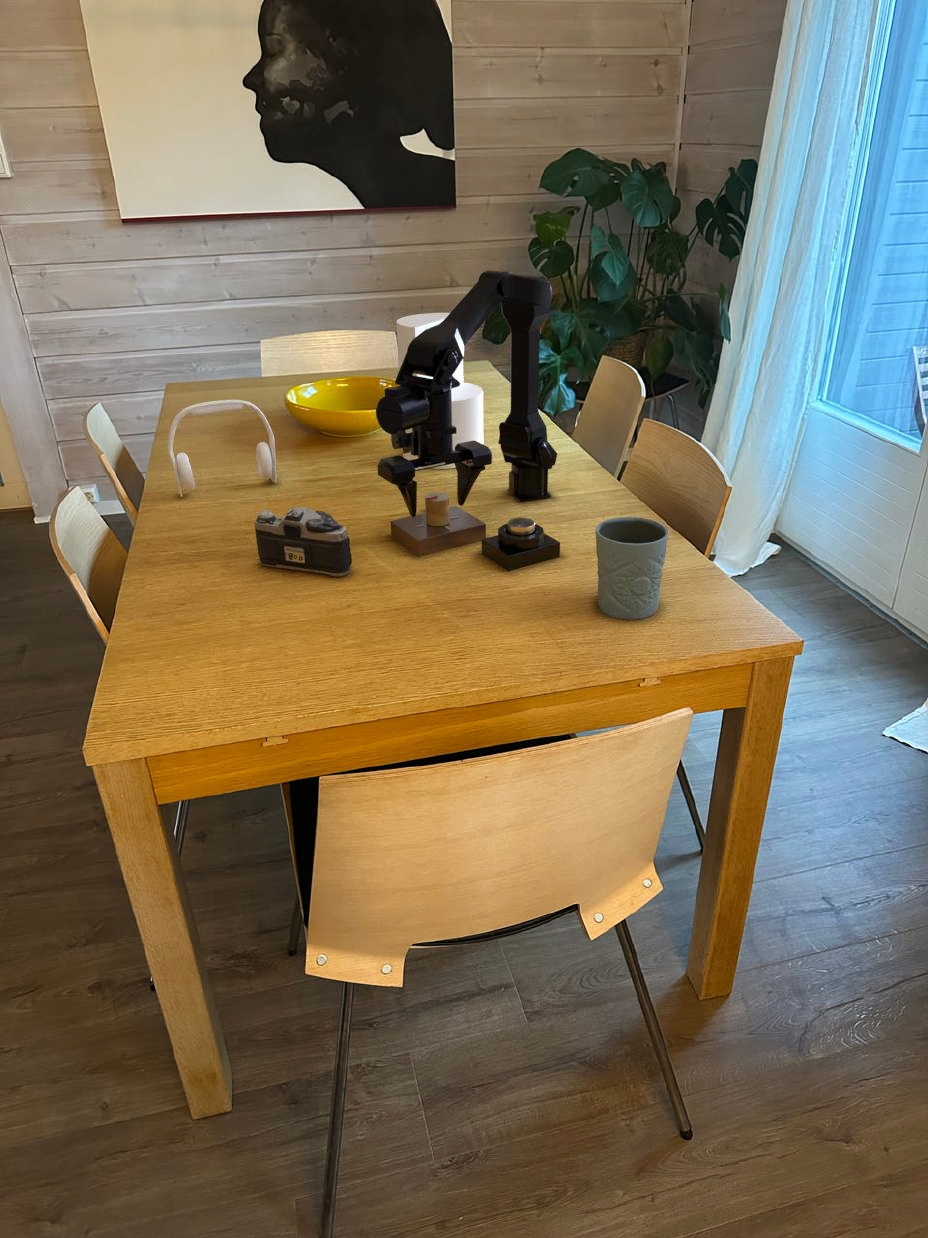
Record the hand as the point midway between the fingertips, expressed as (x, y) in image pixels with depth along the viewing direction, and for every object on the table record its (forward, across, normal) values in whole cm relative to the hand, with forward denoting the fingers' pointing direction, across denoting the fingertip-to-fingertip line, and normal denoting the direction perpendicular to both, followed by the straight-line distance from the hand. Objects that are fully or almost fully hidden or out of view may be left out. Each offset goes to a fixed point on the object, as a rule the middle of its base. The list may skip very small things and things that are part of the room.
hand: (437, 510), depth 152 cm
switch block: (+5, -8, +14) cm, 16 cm away
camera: (+5, +22, -3) cm, 23 cm away
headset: (+5, +23, -43) cm, 49 cm away
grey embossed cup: (+5, -11, +36) cm, 38 cm away
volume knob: (+2, 0, 0) cm, 2 cm away
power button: (+1, -8, +13) cm, 16 cm away
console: (+5, 0, 0) cm, 5 cm away
